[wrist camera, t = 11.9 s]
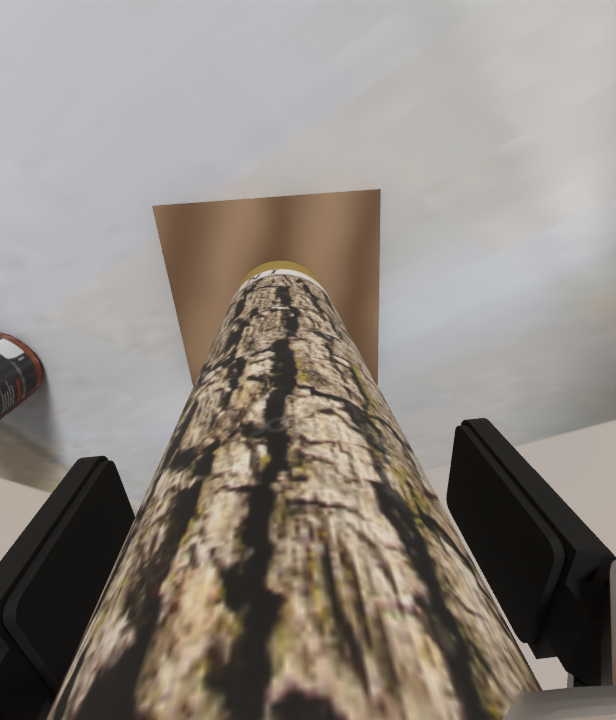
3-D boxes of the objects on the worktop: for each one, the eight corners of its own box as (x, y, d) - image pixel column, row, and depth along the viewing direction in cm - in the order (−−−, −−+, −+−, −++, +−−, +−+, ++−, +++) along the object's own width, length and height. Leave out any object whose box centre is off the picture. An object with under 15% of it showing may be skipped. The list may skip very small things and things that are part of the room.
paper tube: (343, 284, 26) (785, 849, 3) (301, 361, 28) (400, 1007, 6) (258, 240, 24) (12, 791, 2) (220, 325, 27) (-101, 1051, 4)
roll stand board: (374, 189, 25) (380, 189, 24) (373, 378, 31) (377, 386, 30) (159, 205, 24) (152, 206, 23) (201, 395, 31) (197, 404, 29)
